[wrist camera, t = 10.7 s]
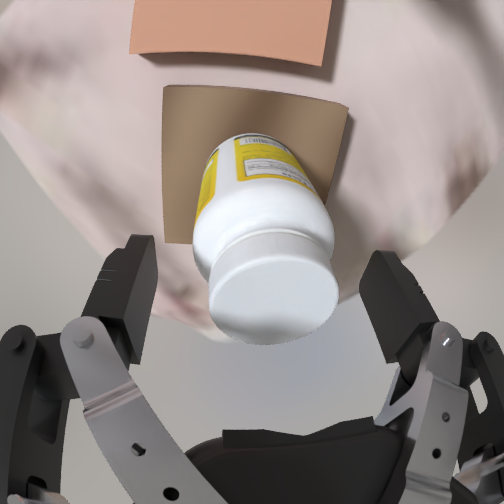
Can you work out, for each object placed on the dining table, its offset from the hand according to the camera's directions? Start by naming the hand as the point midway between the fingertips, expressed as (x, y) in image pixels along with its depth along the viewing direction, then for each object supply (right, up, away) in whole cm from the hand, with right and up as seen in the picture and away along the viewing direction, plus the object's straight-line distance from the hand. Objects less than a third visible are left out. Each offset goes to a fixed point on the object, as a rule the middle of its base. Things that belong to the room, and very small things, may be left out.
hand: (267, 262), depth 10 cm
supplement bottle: (-1, +5, +6) cm, 8 cm away
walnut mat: (-1, +6, +7) cm, 9 cm away
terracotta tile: (-1, +15, 0) cm, 15 cm away
